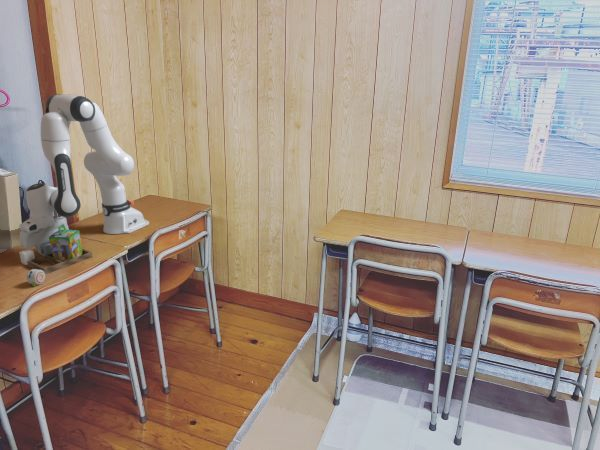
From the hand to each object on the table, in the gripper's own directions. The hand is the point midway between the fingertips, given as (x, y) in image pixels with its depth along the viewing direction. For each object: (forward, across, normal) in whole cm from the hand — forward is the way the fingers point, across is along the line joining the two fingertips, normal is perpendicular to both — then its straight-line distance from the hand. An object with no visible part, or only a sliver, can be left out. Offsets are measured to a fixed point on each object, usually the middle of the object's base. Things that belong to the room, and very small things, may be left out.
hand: (48, 250), depth 218 cm
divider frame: (+2, +1, +12) cm, 12 cm away
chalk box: (+2, -3, +11) cm, 12 cm away
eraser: (+2, +10, +1) cm, 10 cm away
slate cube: (+2, 0, 0) cm, 2 cm away
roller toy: (+2, +17, +24) cm, 29 cm away
